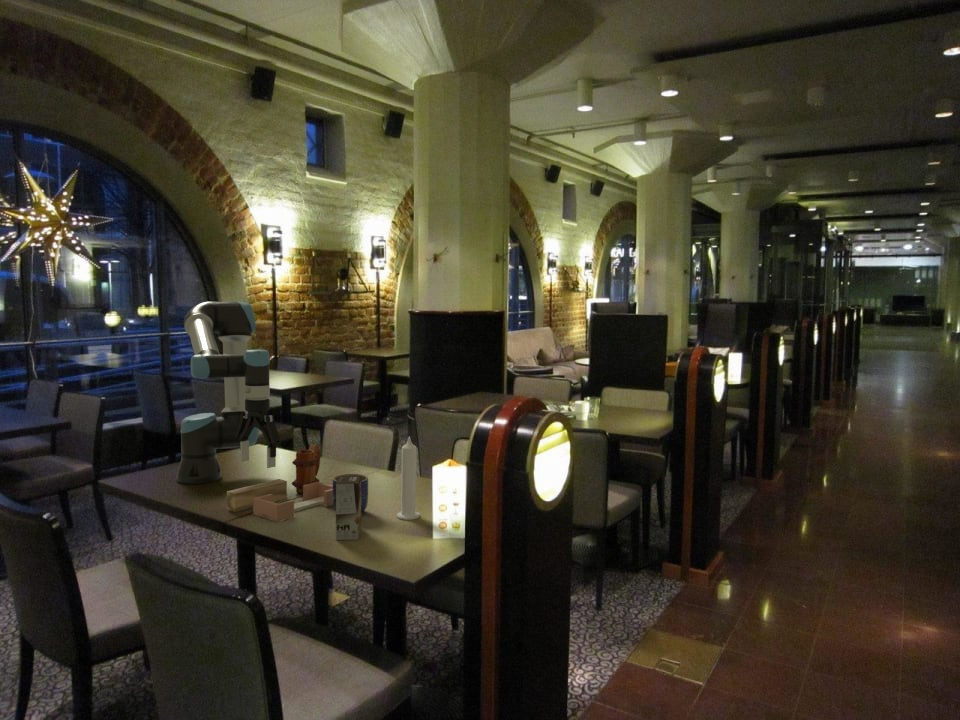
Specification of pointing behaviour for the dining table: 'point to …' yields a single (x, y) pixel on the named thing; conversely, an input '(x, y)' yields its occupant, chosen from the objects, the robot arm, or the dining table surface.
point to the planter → (363, 490)
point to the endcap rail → (278, 512)
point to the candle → (408, 482)
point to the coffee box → (348, 507)
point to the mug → (306, 467)
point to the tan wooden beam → (255, 494)
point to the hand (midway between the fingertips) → (257, 464)
